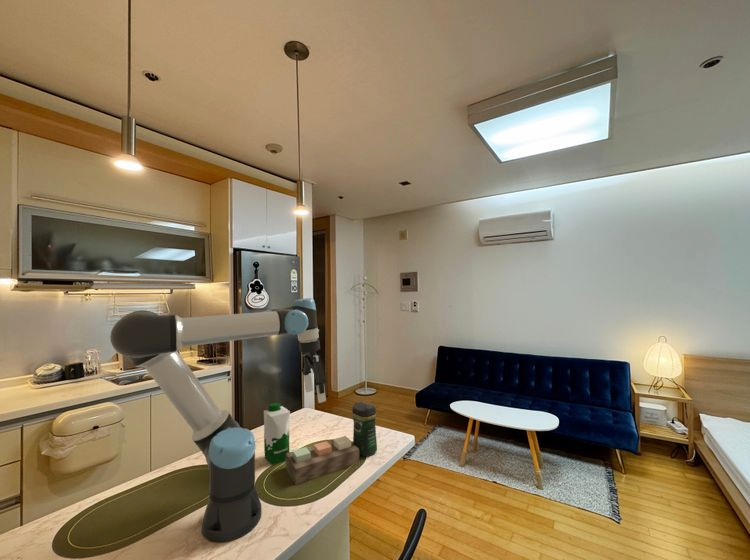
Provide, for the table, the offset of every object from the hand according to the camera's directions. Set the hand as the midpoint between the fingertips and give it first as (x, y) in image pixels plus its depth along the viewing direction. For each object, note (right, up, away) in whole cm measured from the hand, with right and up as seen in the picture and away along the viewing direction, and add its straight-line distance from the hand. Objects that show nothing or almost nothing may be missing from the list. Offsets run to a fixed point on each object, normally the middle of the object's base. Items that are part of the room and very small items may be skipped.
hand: (315, 396), depth 117 cm
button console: (+3, -25, -2) cm, 25 cm away
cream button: (+10, -21, +2) cm, 23 cm away
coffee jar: (+18, -25, +8) cm, 32 cm away
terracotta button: (+3, -21, -2) cm, 21 cm away
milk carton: (-15, -25, +3) cm, 30 cm away
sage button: (-4, -21, -6) cm, 22 cm away
